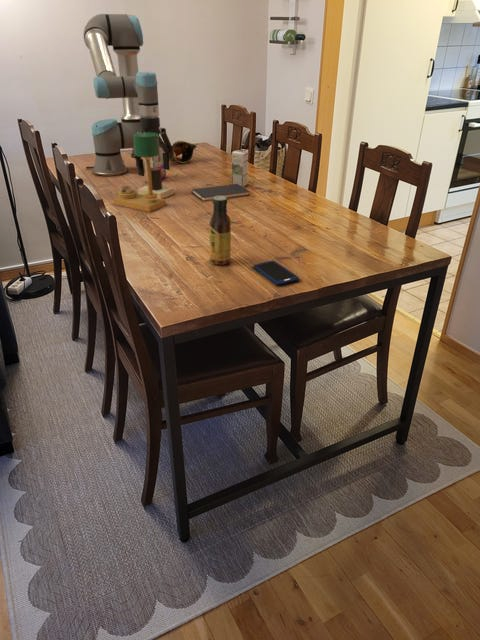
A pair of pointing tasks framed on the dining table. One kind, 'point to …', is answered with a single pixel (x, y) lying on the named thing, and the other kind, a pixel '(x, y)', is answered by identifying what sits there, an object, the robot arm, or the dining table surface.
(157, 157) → the candy bar box
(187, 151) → the pot
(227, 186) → the notebook
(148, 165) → the lamp
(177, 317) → the dining table surface
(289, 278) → the cell phone
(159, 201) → the lamp base
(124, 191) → the lamp switch
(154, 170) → the dark brown cylinder
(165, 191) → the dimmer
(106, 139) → the robot arm
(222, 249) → the sauce bottle
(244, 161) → the syrup box
